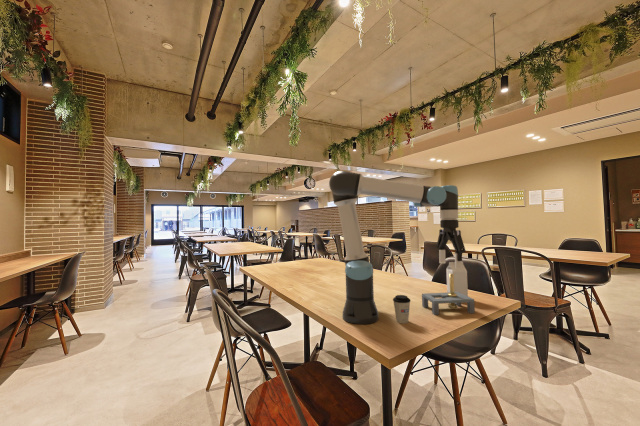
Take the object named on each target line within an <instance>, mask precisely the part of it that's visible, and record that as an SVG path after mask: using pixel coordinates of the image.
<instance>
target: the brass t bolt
mask: <svg viewBox="0 0 640 426" xmlns="http://www.w3.org/2000/svg"><path fill="white" fill-rule="evenodd" d="M449 280H450V293H448V296H449V297H457V294H456V293H454V274H449ZM447 307H448V308H449V309H453V310H454V309H458V306H457V304H455V303H447Z"/></svg>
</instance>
